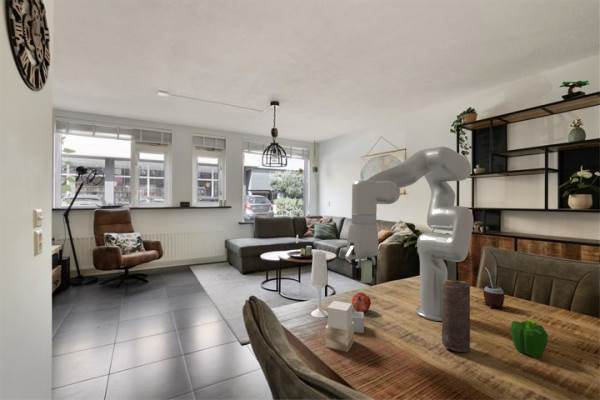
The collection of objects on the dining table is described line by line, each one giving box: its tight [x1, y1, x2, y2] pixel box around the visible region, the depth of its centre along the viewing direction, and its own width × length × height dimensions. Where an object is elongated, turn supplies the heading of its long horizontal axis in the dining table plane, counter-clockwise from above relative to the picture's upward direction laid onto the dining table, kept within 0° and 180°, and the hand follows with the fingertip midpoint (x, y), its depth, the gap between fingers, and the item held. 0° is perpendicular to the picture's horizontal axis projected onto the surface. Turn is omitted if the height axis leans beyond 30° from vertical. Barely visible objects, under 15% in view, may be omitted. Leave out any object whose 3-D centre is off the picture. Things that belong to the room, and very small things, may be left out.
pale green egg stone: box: [354, 258, 373, 284], centre depth 87 cm, size 5×5×6 cm
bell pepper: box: [510, 319, 549, 358], centre depth 81 cm, size 8×8×10 cm
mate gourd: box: [483, 267, 506, 310], centre depth 115 cm, size 8×8×15 cm
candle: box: [441, 279, 471, 353], centre depth 83 cm, size 8×7×20 cm
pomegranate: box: [351, 292, 372, 313], centre depth 111 cm, size 7×7×10 cm
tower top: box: [326, 300, 353, 331], centre depth 86 cm, size 6×6×6 cm
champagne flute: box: [310, 250, 329, 318], centre depth 108 cm, size 7×7×24 cm
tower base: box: [324, 322, 355, 353], centre depth 86 cm, size 7×7×6 cm
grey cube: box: [352, 310, 365, 334], centre depth 96 cm, size 5×5×5 cm
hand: (363, 277), depth 87 cm, fingers closed on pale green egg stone, 5 cm apart
